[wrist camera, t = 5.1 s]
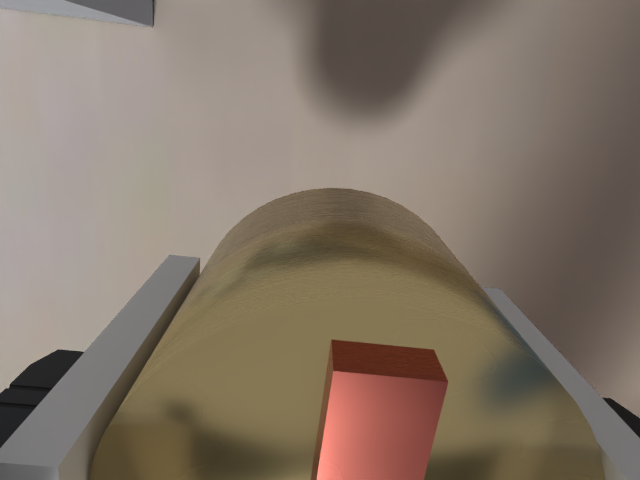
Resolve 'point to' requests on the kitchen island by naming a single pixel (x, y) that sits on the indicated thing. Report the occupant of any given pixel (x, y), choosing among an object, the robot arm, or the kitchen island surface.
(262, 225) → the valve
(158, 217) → the kitchen island surface
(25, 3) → the grey box with flanges
